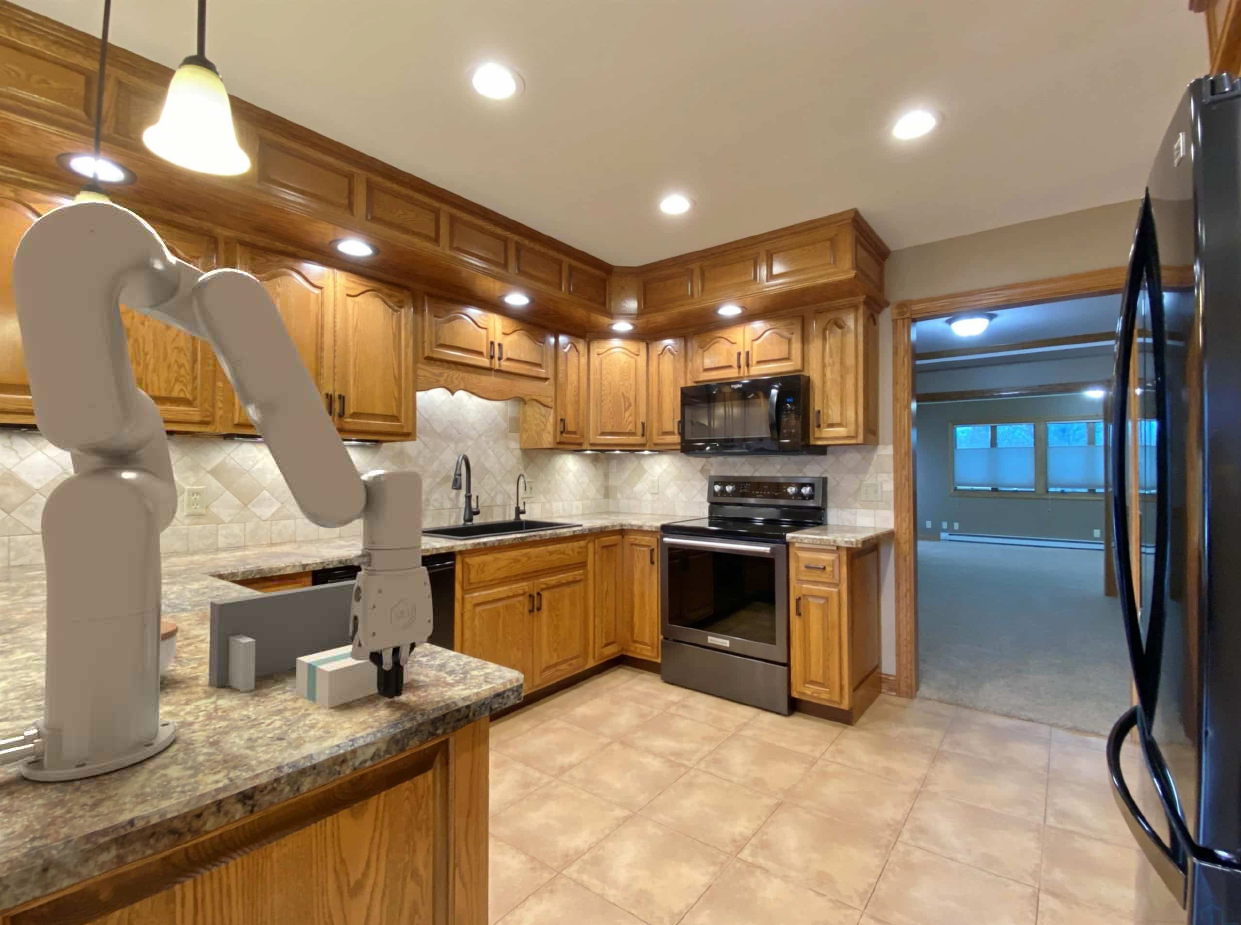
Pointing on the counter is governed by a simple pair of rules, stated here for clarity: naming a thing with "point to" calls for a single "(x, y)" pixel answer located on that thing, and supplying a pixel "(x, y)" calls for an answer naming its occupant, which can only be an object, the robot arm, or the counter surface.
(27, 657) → the counter surface
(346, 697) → the carton
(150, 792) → the counter surface
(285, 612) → the display stand
